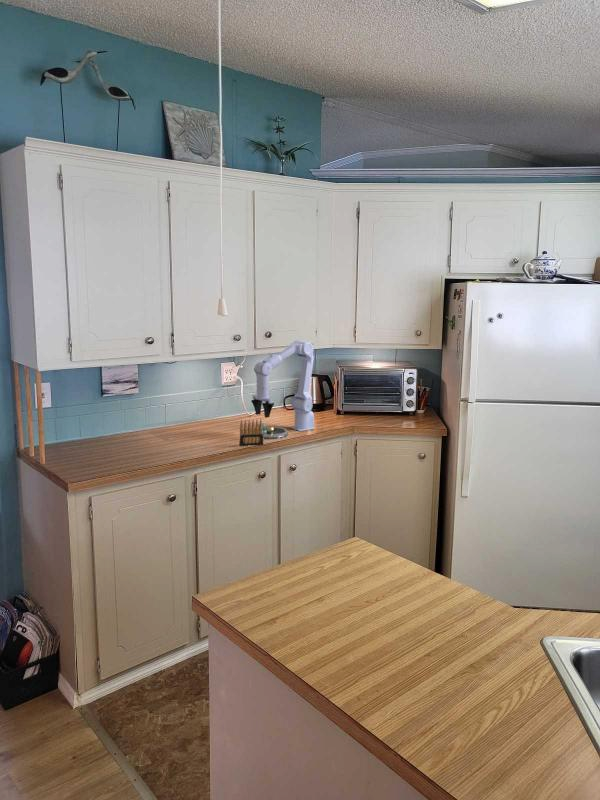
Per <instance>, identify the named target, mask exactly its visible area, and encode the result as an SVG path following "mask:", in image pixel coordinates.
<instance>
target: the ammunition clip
mask: <svg viewBox="0 0 600 800" xmlns="http://www.w3.org/2000/svg"><path fill="white" fill-rule="evenodd" d="M262 424H263V420H262V418H260V420H258V419H257V418H256V421H255V420H254V419H252V422H251V419H249V420H248V422H247V419H245V420H244V423H243V419H241V420H240V426H239V444H238V445H239V447H249V446H248V445H254V446H264V439H263V428H262Z"/></svg>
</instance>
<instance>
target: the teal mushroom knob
mask: <svg viewBox="0 0 600 800" xmlns="http://www.w3.org/2000/svg"><path fill="white" fill-rule="evenodd" d="M265 427H266V423H262V428H263V434H267V430H265Z"/></svg>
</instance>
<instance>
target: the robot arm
mask: <svg viewBox="0 0 600 800" xmlns="http://www.w3.org/2000/svg"><path fill="white" fill-rule="evenodd" d="M314 348H315V347H314V346H313V345H312V343H311V342H309V341H301V340H295V341H293V342H291V343H290V344H289V346H287V347H285V348H283V350H282V351H280V352H278V353H277V354H276V353H272V354H270V356H269V357H267V358H265V359H263V361H259V362H256V364H255V365H254V368H253V370H254V373H255V377H256V394H255V393H254V394H252V399H251V400H250V402H251V403H252V405H253V409H254V413H255V415H256V416H258V415H261V412H262V407H263V414H264V418H265V419H267V418H270V416H271V412H272V410H273V407H274V405H275V403H274V398H271V396H270V395H269V394H270V393H269V391H270V389H269V388H270V386H269V384H270V381H269V379H270V376H269V375H271V373H272V371H273V370H274V369H276V368H277V367H279V366H280V365H282V361H283V360H285V359H287V358H288V357H290V356H292V355H294V354H295V355H297V357H299V358H300V360H301V367H300V368H301V369H300V375H299V383H298V389H297V392H296V393H295V394H294V397H293V399H292V402H291V407H292V409H293V410H294V426H291V427H290V428H291V429H293V430H296V431H299V432H302V431H309V430H315V429H316V427H315V415H314V412H313V411H312V409H313V407H314V406H313V397H312V395H311V394H310V387H311V382H312V374H313V368H314V367H313V366H314V359H315V357H314V350H315V349H314Z"/></svg>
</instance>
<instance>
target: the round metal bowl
mask: <svg viewBox="0 0 600 800" xmlns="http://www.w3.org/2000/svg"><path fill="white" fill-rule="evenodd" d="M265 430H267V434H263V438H264V439H263V440H277V438H280V439H283V437H284V438H286V437H288V436H287V435H289V434H288V430H287V428H284V427H278V426H265Z"/></svg>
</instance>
